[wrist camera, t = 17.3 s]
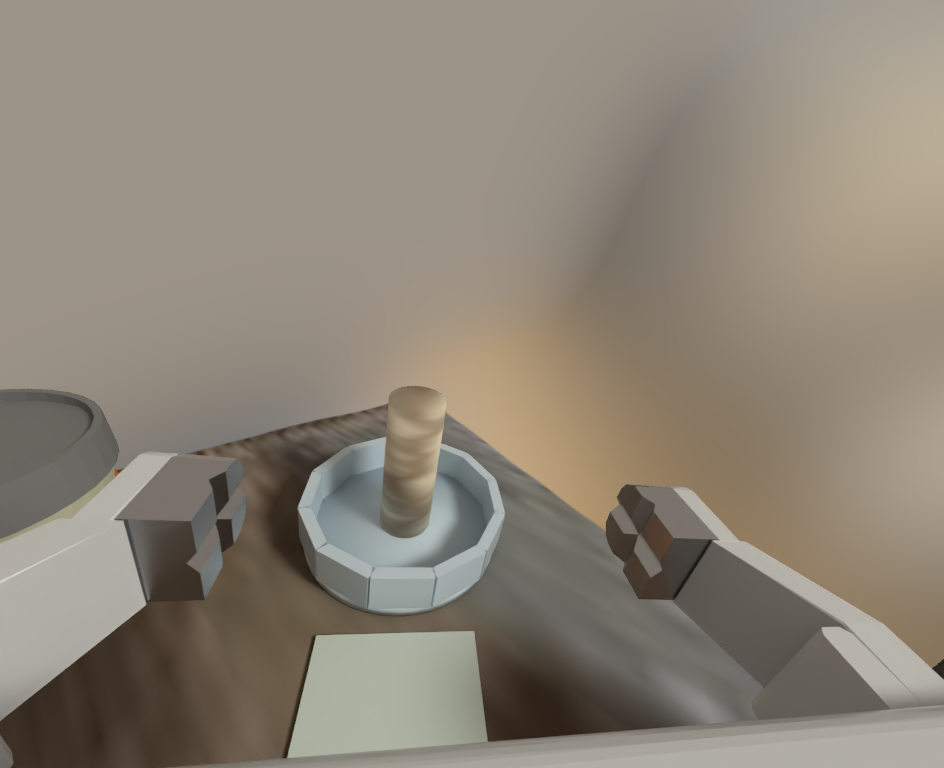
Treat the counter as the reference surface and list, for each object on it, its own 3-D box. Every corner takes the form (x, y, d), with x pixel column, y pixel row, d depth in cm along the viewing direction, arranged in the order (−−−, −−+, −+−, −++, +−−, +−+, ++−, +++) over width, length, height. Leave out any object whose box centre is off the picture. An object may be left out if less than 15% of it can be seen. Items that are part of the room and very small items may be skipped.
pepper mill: (377, 537, 36) (386, 411, 30) (382, 500, 40) (391, 383, 34) (429, 538, 37) (448, 416, 31) (428, 502, 41) (445, 388, 35)
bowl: (273, 618, 29) (269, 579, 27) (327, 463, 46) (327, 432, 44) (511, 614, 32) (522, 578, 30) (479, 471, 49) (485, 442, 47)
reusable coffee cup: (160, 642, 26) (107, 471, 20) (-168, 791, 18) (-424, 588, 12) (150, 523, 35) (110, 376, 28) (-80, 591, 27) (-205, 408, 20)
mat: (252, 906, 17) (252, 904, 17) (316, 637, 28) (316, 635, 28) (502, 870, 20) (503, 868, 19) (473, 633, 30) (473, 630, 30)
